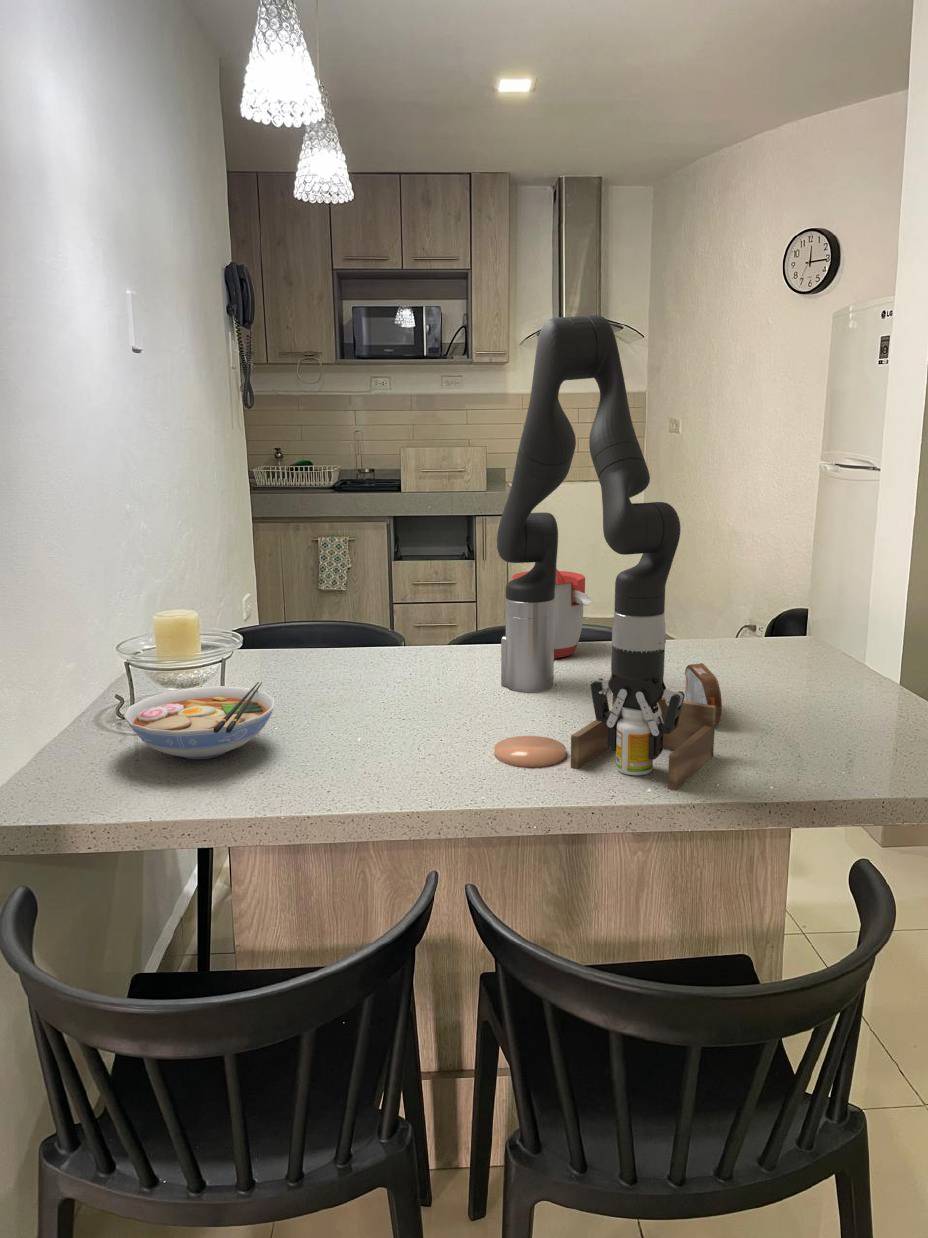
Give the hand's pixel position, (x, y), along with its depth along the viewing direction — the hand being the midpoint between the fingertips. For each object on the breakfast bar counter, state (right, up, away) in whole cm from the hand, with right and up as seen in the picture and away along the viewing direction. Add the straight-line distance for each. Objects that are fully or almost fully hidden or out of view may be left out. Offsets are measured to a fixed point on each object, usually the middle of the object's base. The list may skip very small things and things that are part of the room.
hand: (634, 753), depth 140 cm
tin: (+16, +3, +25) cm, 30 cm away
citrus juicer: (-6, +12, +67) cm, 68 cm away
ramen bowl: (-66, -1, +10) cm, 67 cm away
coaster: (-15, -1, +7) cm, 17 cm away
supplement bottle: (0, -3, +1) cm, 3 cm away
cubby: (+2, -2, +4) cm, 5 cm away
